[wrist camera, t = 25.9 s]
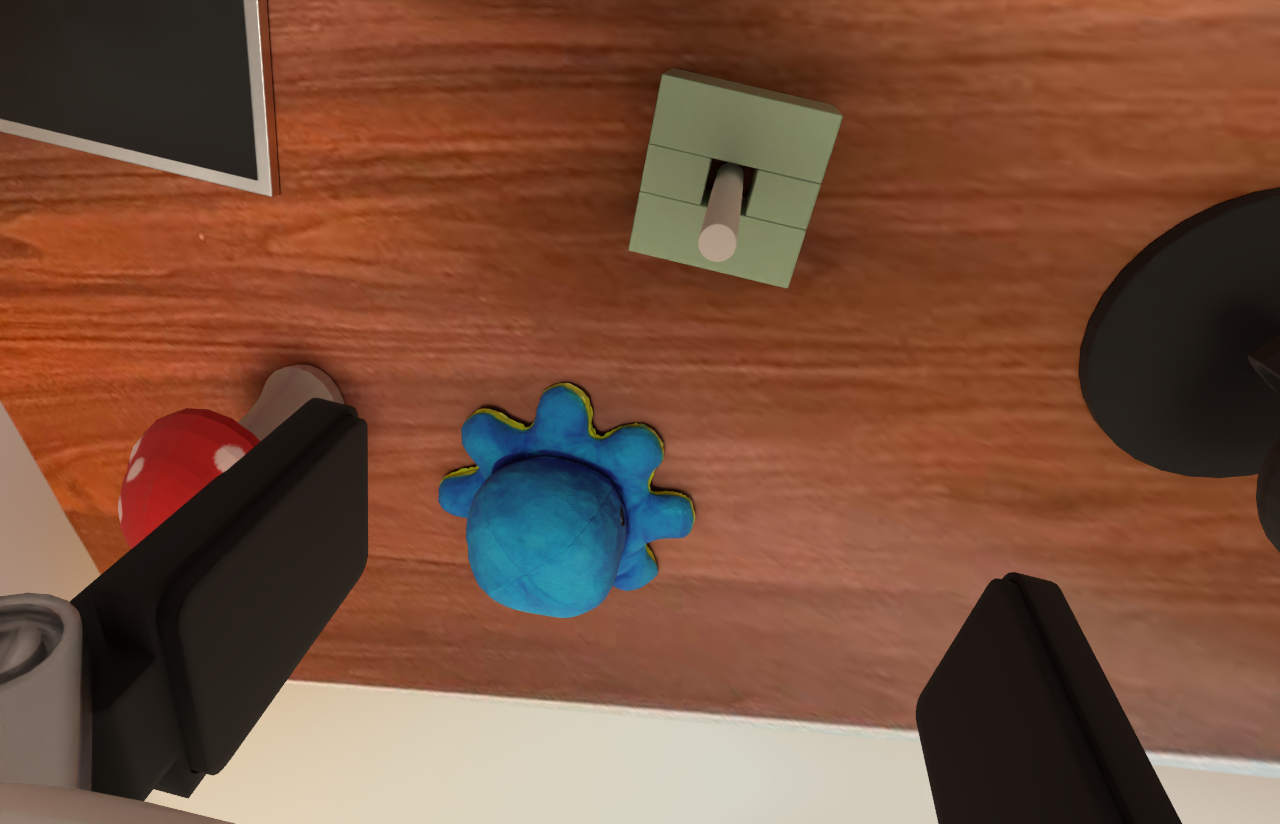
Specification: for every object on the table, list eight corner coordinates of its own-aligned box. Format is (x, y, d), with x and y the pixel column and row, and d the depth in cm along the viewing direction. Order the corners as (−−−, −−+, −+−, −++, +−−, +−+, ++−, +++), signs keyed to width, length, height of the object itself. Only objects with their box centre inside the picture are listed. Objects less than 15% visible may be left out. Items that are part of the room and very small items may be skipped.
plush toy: (401, 432, 48) (337, 506, 41) (624, 355, 43) (597, 424, 36) (516, 608, 55) (478, 698, 48) (722, 560, 49) (715, 654, 42)
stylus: (720, 156, 36) (702, 220, 25) (747, 161, 36) (740, 228, 25) (714, 183, 37) (694, 257, 26) (741, 189, 37) (732, 265, 26)
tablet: (-168, -195, 35) (-189, -199, 34) (261, -97, 34) (249, -99, 33) (-76, 108, 42) (-92, 110, 41) (280, 194, 41) (271, 198, 40)
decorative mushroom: (375, 476, 50) (242, 636, 37) (260, 450, 51) (89, 599, 38) (371, 352, 45) (215, 487, 32) (243, 323, 46) (38, 447, 33)
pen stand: (671, 67, 35) (661, 73, 31) (835, 105, 34) (843, 115, 31) (639, 229, 39) (628, 250, 35) (785, 264, 39) (787, 289, 35)
